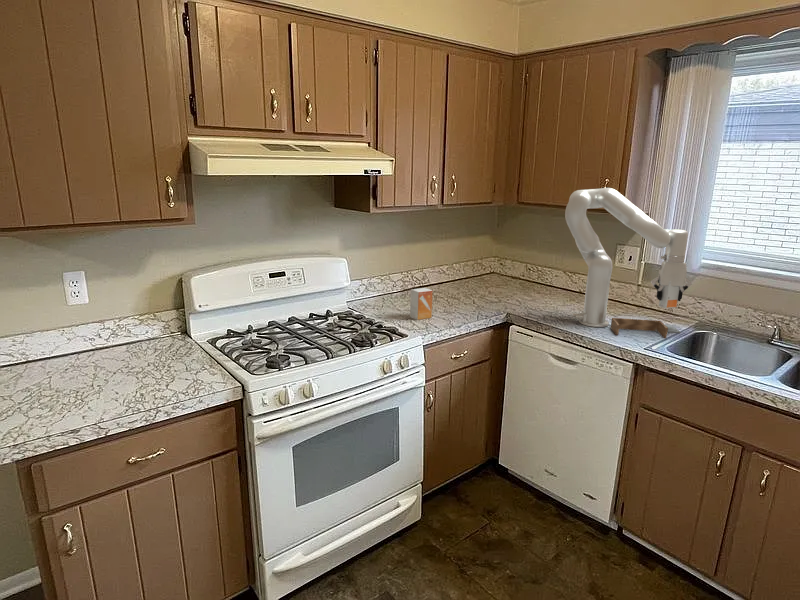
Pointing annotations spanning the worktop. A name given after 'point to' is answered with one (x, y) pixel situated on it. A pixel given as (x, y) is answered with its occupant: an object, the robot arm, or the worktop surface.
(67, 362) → the worktop surface
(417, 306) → the small box
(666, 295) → the skincare box
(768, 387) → the worktop surface
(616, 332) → the brown u-shaped bracket
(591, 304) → the robot arm
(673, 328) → the mat
